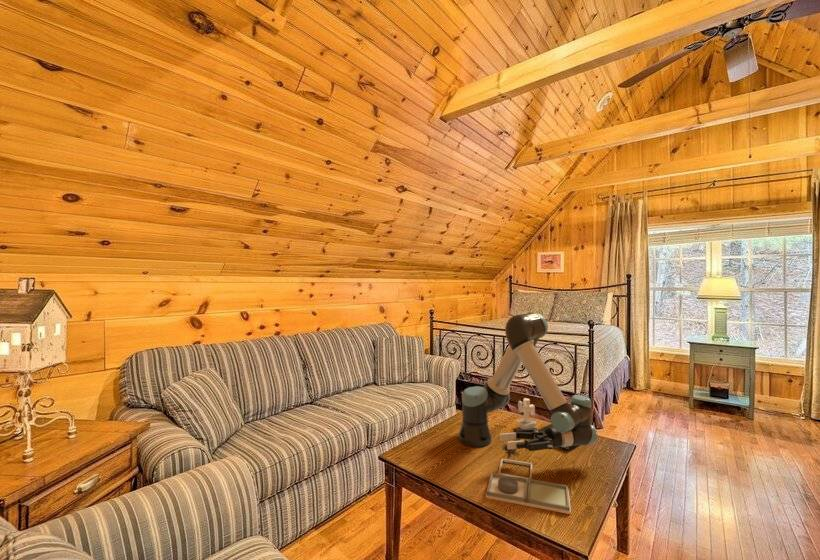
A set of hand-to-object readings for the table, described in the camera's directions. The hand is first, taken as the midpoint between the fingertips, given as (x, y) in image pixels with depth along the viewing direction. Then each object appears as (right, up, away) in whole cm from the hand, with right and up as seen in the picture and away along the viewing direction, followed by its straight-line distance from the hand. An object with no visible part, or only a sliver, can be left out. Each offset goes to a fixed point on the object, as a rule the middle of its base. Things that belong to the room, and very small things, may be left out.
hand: (504, 441), depth 149 cm
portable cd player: (+34, -12, +28) cm, 46 cm away
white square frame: (+5, -12, +1) cm, 13 cm away
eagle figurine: (+4, -7, +2) cm, 9 cm away
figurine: (+21, -11, +40) cm, 47 cm away
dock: (+5, -13, -14) cm, 20 cm away
